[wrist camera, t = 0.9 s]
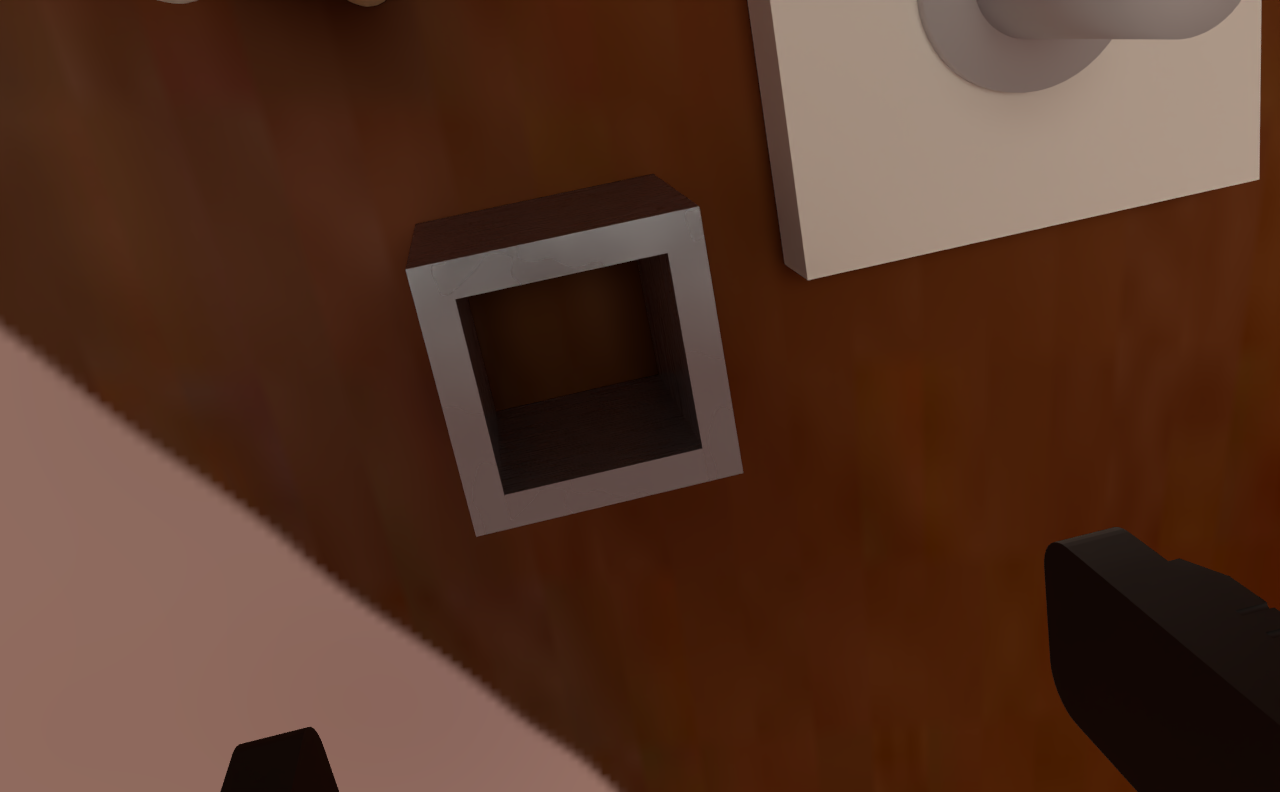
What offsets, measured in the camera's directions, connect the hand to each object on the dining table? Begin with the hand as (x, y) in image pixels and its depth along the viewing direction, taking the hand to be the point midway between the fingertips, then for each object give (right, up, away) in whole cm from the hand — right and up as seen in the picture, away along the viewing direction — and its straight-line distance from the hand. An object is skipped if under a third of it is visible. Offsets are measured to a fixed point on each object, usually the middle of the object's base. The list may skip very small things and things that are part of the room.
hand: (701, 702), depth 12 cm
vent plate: (+8, +14, +15) cm, 22 cm away
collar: (-3, +5, +16) cm, 17 cm away
